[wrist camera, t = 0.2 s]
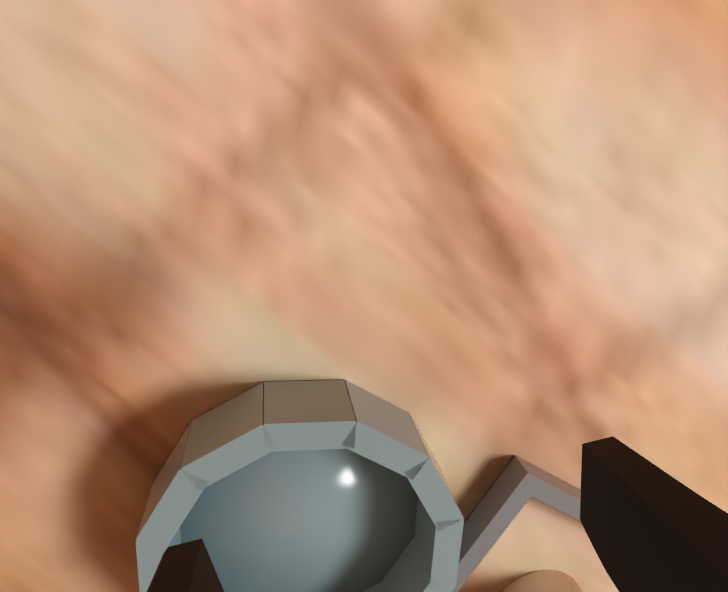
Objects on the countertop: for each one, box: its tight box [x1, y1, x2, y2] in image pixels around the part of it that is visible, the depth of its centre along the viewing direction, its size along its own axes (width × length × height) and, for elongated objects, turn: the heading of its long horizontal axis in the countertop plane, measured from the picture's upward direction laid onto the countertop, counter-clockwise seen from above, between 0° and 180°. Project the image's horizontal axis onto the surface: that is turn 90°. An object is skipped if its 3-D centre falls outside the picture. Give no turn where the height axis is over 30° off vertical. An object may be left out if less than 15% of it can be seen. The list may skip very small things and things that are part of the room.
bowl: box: [136, 380, 464, 592], centre depth 21 cm, size 11×11×3 cm
